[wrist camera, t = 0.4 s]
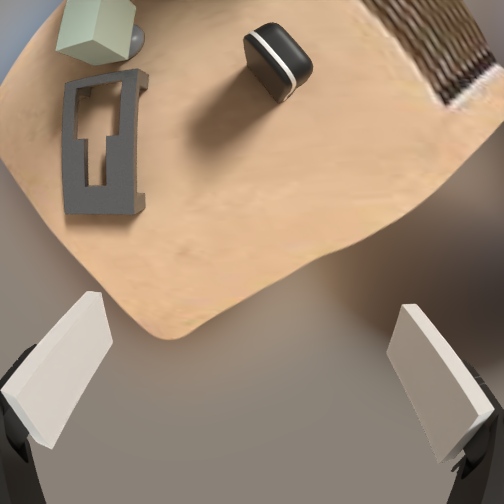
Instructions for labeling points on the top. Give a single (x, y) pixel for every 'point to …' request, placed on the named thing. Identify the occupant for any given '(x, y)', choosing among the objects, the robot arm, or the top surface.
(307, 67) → the battery charger
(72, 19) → the pale green boxy piece
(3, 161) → the top surface
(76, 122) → the keyhole plate
